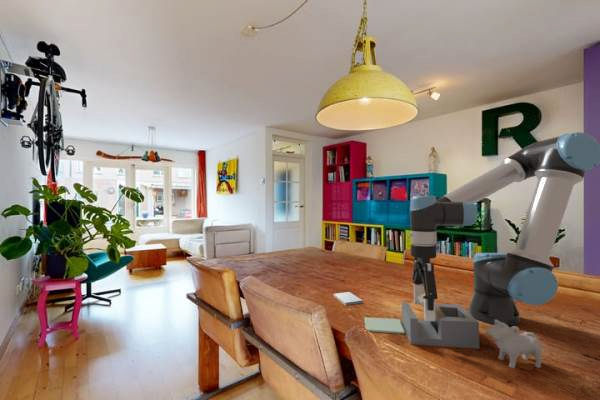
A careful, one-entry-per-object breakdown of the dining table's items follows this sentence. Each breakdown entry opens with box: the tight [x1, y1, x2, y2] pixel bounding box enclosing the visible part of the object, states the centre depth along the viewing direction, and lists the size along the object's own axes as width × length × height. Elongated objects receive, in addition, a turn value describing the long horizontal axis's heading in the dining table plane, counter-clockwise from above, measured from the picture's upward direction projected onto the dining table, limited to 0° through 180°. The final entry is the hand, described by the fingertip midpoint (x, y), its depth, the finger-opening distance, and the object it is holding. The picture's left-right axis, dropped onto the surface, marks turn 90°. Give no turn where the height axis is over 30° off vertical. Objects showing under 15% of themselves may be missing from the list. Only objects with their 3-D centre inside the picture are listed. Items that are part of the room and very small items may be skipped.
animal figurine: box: [486, 320, 543, 369], centre depth 74 cm, size 5×13×10 cm, turn 91°
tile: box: [419, 292, 446, 322], centre depth 89 cm, size 12×6×3 cm
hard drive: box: [333, 291, 364, 306], centre depth 123 cm, size 2×8×12 cm
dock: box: [401, 301, 480, 350], centre depth 89 cm, size 18×14×8 cm
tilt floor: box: [417, 297, 438, 325], centre depth 89 cm, size 13×5×1 cm
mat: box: [363, 316, 406, 335], centre depth 96 cm, size 12×10×1 cm
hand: (423, 311), depth 90 cm, fingers open, 13 cm apart
